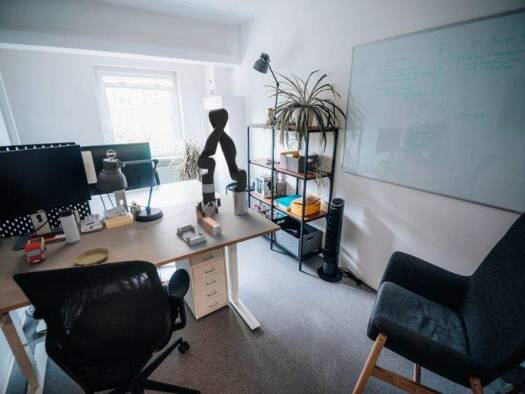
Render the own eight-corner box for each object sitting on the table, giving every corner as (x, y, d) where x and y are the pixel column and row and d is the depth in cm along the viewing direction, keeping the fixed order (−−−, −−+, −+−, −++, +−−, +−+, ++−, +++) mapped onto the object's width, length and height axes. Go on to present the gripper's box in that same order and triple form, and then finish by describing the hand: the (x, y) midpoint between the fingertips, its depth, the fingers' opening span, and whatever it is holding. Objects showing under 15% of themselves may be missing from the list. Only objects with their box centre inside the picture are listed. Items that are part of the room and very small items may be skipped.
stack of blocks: (209, 210, 188) (207, 195, 184) (216, 210, 187) (215, 195, 183) (197, 222, 168) (195, 205, 164) (205, 222, 167) (204, 206, 163)
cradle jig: (191, 228, 158) (191, 223, 157) (206, 241, 143) (206, 235, 142) (176, 233, 152) (175, 227, 151) (190, 246, 137) (189, 240, 136)
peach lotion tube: (209, 225, 163) (208, 216, 161) (221, 233, 152) (221, 225, 150) (203, 227, 161) (202, 218, 159) (215, 236, 149) (214, 227, 147)
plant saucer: (94, 270, 118) (93, 265, 118) (68, 267, 121) (66, 262, 120) (116, 253, 132) (115, 249, 131) (92, 251, 135) (91, 246, 134)
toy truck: (29, 267, 121) (22, 249, 117) (31, 250, 136) (26, 233, 132) (47, 262, 125) (41, 245, 121) (47, 245, 140) (42, 230, 136)
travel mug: (70, 245, 140) (60, 212, 134) (65, 242, 144) (55, 210, 137) (82, 240, 145) (73, 209, 139) (77, 237, 149) (68, 206, 142)
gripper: (216, 186, 154) (217, 210, 160) (194, 191, 146) (196, 216, 151) (222, 189, 149) (223, 214, 154) (200, 194, 140) (202, 220, 146)
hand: (210, 215), depth 153 cm, fingers open, 8 cm apart
